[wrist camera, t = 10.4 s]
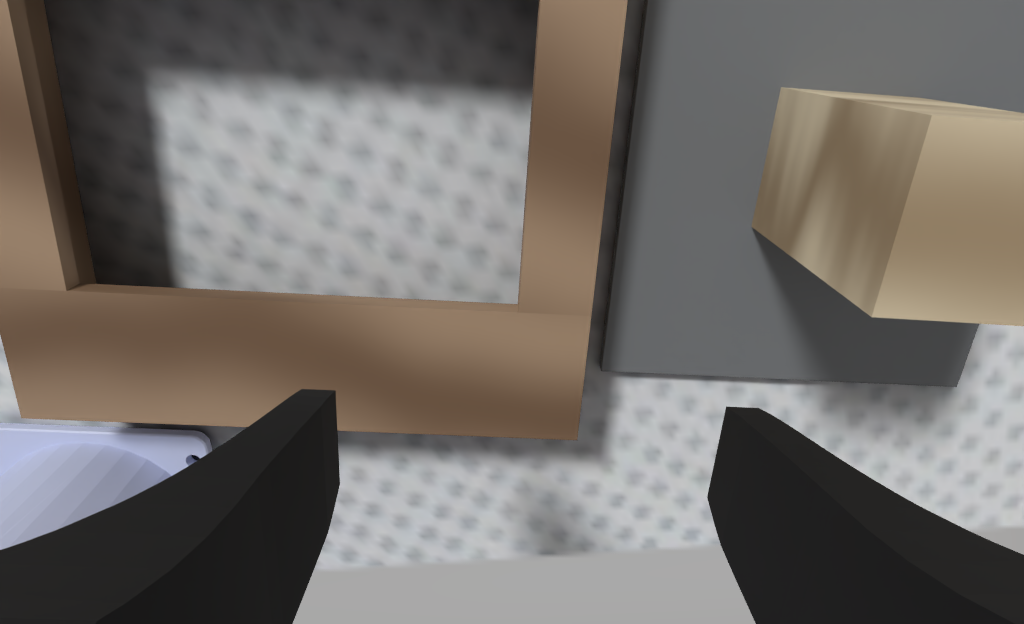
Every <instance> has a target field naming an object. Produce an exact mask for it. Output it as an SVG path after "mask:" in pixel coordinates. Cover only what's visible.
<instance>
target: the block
mask: <svg viewBox="0 0 1024 624" xmlns="http://www.w3.org/2000/svg"><path fill="white" fill-rule="evenodd" d="M751 227H752V228H754V229H755V230H756V231H758V232H759V233H760V234H762V235H763V236H764V237H766V238H767V239H768V240H770V241H771V242H772V243H774V244H775V245H776V246H778V247H779V248H780V249H782V250H783V251H784V252H786V253H787V254H788V255H790V256H791V257H792V258H794V259H795V260H796V261H798V262H799V263H800V264H802V265H803V266H804V267H806V268H807V269H808V270H810V271H811V272H812V273H814V274H815V275H816V276H818V277H819V278H820V279H822V280H823V281H824V282H826V283H827V284H828V285H830V286H831V287H832V288H833V289H835V290H836V291H837V292H839V293H840V294H841V295H843V296H844V297H845V298H847V299H848V300H849V301H851V302H852V303H853V304H855V305H856V306H857V307H859V308H860V309H861V310H863V311H864V312H865V313H867V314H868V315H869V316H871V317H877V318H894V319H911V320H928V321H945V322H962V323H979V324H996V325H1013V326H1024V113H1019V112H1013V111H1006V110H999V109H993V108H986V107H979V106H972V105H966V104H959V103H952V102H946V101H939V100H932V99H925V98H917V97H904V96H891V95H877V94H864V93H851V92H837V91H824V90H811V89H797V88H784V87H781V90H780V95H779V99H778V104H777V109H776V113H775V118H774V123H773V127H772V132H771V137H770V141H769V146H768V151H767V156H766V160H765V165H764V170H763V174H762V179H761V184H760V188H759V193H758V198H757V203H756V207H755V212H754V217H753V221H752V226H751Z"/></svg>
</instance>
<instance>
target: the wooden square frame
mask: <svg viewBox="0 0 1024 624" xmlns="http://www.w3.org/2000/svg"><path fill="white" fill-rule="evenodd" d="M627 2H628V0H539V6H538V21H537V35H536V49H535V64H534V78H533V93H532V107H531V122H530V136H529V151H528V165H527V180H526V194H525V208H524V223H523V237H522V252H521V266H520V281H519V295H518V304H499V303H478V302H458V301H437V300H416V299H396V298H375V297H354V296H334V295H313V294H292V293H272V292H251V291H230V290H209V289H189V288H168V287H147V286H127V285H106V284H96V279H95V274H94V268H93V263H92V257H91V252H90V247H89V241H88V236H87V231H86V225H85V220H84V215H83V209H82V204H81V198H80V193H79V188H78V182H77V177H76V172H75V166H74V161H73V155H72V150H71V145H70V139H69V134H68V129H67V123H66V118H65V113H64V107H63V102H62V96H61V91H60V86H59V80H58V75H57V70H56V64H55V59H54V54H53V48H52V43H51V37H50V32H49V27H48V21H47V16H46V11H45V5H44V0H0V335H1V339H2V343H3V346H4V350H5V354H6V358H7V362H8V366H9V370H10V374H11V378H12V382H13V386H14V390H15V394H16V398H17V402H18V406H19V410H20V414H21V418H29V419H55V420H80V421H105V422H130V423H156V424H181V425H206V426H231V427H249V426H250V425H252V424H253V423H254V422H256V421H257V420H259V419H260V418H261V417H263V416H264V415H265V414H267V413H268V412H270V411H271V410H272V409H274V408H275V407H276V406H278V405H279V404H281V403H282V402H283V401H285V400H286V399H287V398H289V397H290V396H292V395H293V394H295V393H296V392H298V391H299V390H301V389H316V390H336V411H337V431H357V432H383V433H408V434H433V435H458V436H484V437H509V438H534V439H559V440H577V437H578V428H579V419H580V410H581V402H582V393H583V384H584V376H585V367H586V358H587V350H588V341H589V332H590V324H591V315H592V306H593V297H594V289H595V280H596V271H597V263H598V254H599V245H600V237H601V228H602V219H603V210H604V202H605V193H606V184H607V176H608V167H609V158H610V150H611V141H612V132H613V123H614V115H615V106H616V97H617V89H618V80H619V71H620V63H621V54H622V45H623V36H624V28H625V19H626V10H627Z"/></svg>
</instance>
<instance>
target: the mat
mask: <svg viewBox="0 0 1024 624" xmlns="http://www.w3.org/2000/svg"><path fill="white" fill-rule="evenodd" d="M781 87H784V88H797V89H811V90H824V91H837V92H851V93H864V94H877V95H891V96H904V97H917V98H925V99H932V100H939V101H946V102H952V103H959V104H966V105H972V106H979V107H986V108H993V109H999V110H1006V111H1013V112H1019V113H1024V0H645V5H644V13H643V21H642V29H641V37H640V45H639V53H638V61H637V69H636V77H635V85H634V93H633V102H632V110H631V118H630V126H629V134H628V142H627V150H626V158H625V166H624V174H623V182H622V190H621V198H620V206H619V215H618V223H617V231H616V239H615V247H614V255H613V263H612V271H611V279H610V287H609V295H608V303H607V311H606V319H605V327H604V336H603V344H602V352H601V360H600V368H601V371H611V372H634V373H657V374H679V375H702V376H724V377H747V378H770V379H792V380H815V381H837V382H860V383H883V384H905V385H928V386H950V387H957V384H958V382H959V379H960V376H961V373H962V370H963V367H964V365H965V362H966V359H967V356H968V353H969V351H970V348H971V345H972V342H973V339H974V337H975V334H976V331H977V328H978V325H979V323H962V322H945V321H928V320H911V319H894V318H877V317H871V316H869V315H868V314H867V313H865V312H864V311H863V310H861V309H860V308H859V307H857V306H856V305H855V304H853V303H852V302H851V301H849V300H848V299H847V298H845V297H844V296H843V295H841V294H840V293H839V292H837V291H836V290H835V289H833V288H832V287H831V286H830V285H828V284H827V283H826V282H824V281H823V280H822V279H820V278H819V277H818V276H816V275H815V274H814V273H812V272H811V271H810V270H808V269H807V268H806V267H804V266H803V265H802V264H800V263H799V262H798V261H796V260H795V259H794V258H792V257H791V256H790V255H788V254H787V253H786V252H784V251H783V250H782V249H780V248H779V247H778V246H776V245H775V244H774V243H772V242H771V241H770V240H768V239H767V238H766V237H764V236H763V235H762V234H760V233H759V232H758V231H756V230H755V229H754V228H752V227H751V226H752V221H753V217H754V212H755V207H756V203H757V198H758V193H759V188H760V184H761V179H762V174H763V170H764V165H765V160H766V156H767V151H768V146H769V141H770V137H771V132H772V127H773V123H774V118H775V113H776V109H777V104H778V99H779V95H780V90H781Z"/></svg>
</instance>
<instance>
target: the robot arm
mask: <svg viewBox="0 0 1024 624" xmlns="http://www.w3.org/2000/svg"><path fill="white" fill-rule="evenodd" d="M191 455H196V456H198V457H199V458H200V459H199V460H195V459H193V458H192V456H191ZM339 485H340V478H339V456H338V433H337V411H336V390H316V389H301V390H299V391H298V392H296V393H295V394H293V395H292V396H290V397H289V398H287V399H286V400H285V401H283V402H282V403H281V404H279V405H278V406H276V407H275V408H274V409H272V410H271V411H270V412H268V413H267V414H265V415H264V416H263V417H261V418H260V419H259V420H257V421H256V422H254V423H253V424H252V425H250V426H249V427H247V428H246V429H244V430H243V431H242V432H240V433H239V434H237V435H236V436H235V437H233V438H232V439H230V440H229V441H227V442H226V443H224V444H222V445H221V446H219V447H218V448H216V449H215V450H213V451H212V447H211V442H210V439H209V438H208V437H207V436H206V435H205V434H204V433H202V432H200V431H195V430H170V429H144V428H119V427H94V426H68V425H43V424H17V423H0V624H292V623H293V621H294V618H295V616H296V613H297V611H298V608H299V605H300V603H301V601H302V598H303V596H304V593H305V590H306V588H307V585H308V583H309V580H310V577H311V575H312V573H313V570H314V568H315V565H316V562H317V560H318V557H319V555H320V552H321V549H322V547H323V544H324V542H325V539H326V536H327V534H328V530H329V526H330V523H331V519H332V515H333V511H334V507H335V502H336V498H337V494H338V489H339ZM707 498H708V501H709V505H710V509H711V513H712V516H713V520H714V524H715V527H716V530H717V534H718V537H719V540H720V543H721V546H722V549H723V551H724V553H725V556H726V558H727V560H728V563H729V565H730V567H731V569H732V572H733V574H734V576H735V578H736V580H737V583H738V585H739V587H740V590H741V592H742V594H743V596H744V598H745V600H746V603H747V605H748V607H749V609H750V612H751V614H752V616H753V618H754V620H755V623H756V624H1024V555H1023V554H1020V553H1018V552H1015V551H1013V550H1011V549H1008V548H1006V547H1003V546H1001V545H999V544H996V543H994V542H992V541H990V540H987V539H985V538H983V537H981V536H978V535H976V534H974V533H972V532H970V531H968V530H966V529H964V528H962V527H960V526H958V525H956V524H954V523H952V522H950V521H948V520H946V519H944V518H942V517H940V516H938V515H936V514H934V513H932V512H930V511H928V510H926V509H924V508H922V507H920V506H918V505H916V504H914V503H913V502H911V501H909V500H907V499H905V498H904V497H902V496H900V495H898V494H897V493H895V492H893V491H892V490H890V489H888V488H886V487H885V486H883V485H881V484H879V483H878V482H876V481H874V480H873V479H871V478H869V477H868V476H866V475H865V474H863V473H861V472H860V471H858V470H856V469H855V468H853V467H852V466H850V465H848V464H847V463H845V462H844V461H842V460H841V459H839V458H838V457H836V456H834V455H833V454H831V453H830V452H828V451H827V450H825V449H824V448H822V447H821V446H819V445H818V444H816V443H815V442H813V441H812V440H810V439H808V438H807V437H805V436H804V435H802V434H801V433H799V432H798V431H796V430H795V429H793V428H792V427H790V426H789V425H787V424H785V423H784V422H782V421H781V420H779V419H777V418H776V417H774V416H772V415H771V414H769V413H767V412H765V411H763V410H761V409H759V408H742V407H726V411H725V416H724V421H723V425H722V430H721V435H720V440H719V444H718V449H717V454H716V459H715V463H714V468H713V473H712V478H711V482H710V487H709V492H708V497H707Z"/></svg>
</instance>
